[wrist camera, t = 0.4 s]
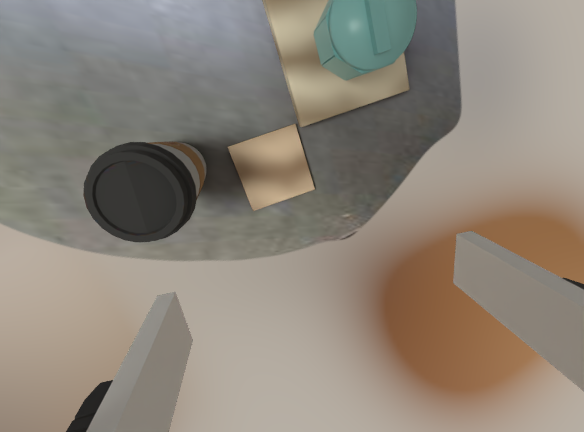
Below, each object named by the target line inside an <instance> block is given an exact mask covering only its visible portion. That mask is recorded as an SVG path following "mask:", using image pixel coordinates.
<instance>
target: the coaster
mask: <svg viewBox="0 0 584 432" xmlns="http://www.w3.org/2000/svg"><path fill="white" fill-rule="evenodd" d="M228 149H229V152H230V154H231V157H232V159H233V162H234V164H235V167H236V169H237V172H238V174H239V177H240V179H241V182H242V184H243V187H244V189H245V192H246V194H247V197H248V199H249V202H250V204H251V207H252V209H253V211H254V210H257V209H260V208H263V207H266V206H269V205H272V204H274V203H277V202H280V201H283V200H286V199H289V198H292V197H294V196H297V195H300V194H303V193H306V192H309V191H312V190H314V189H315V188H314V185H313V181H312V178H311V175H310V171H309V168H308V165H307V161H306V158H305V155H304V151H303V148H302V145H301V141H300V138H299V135H298V131H297V128H296V125H295V124H293V125H290V126H287V127H284V128H281V129H278V130H275V131H272V132H269V133H267V134H264V135H261V136H258V137H255V138H252V139H249V140H246V141H243V142H240V143H238V144H235V145H232V146H229V147H228Z"/></svg>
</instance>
